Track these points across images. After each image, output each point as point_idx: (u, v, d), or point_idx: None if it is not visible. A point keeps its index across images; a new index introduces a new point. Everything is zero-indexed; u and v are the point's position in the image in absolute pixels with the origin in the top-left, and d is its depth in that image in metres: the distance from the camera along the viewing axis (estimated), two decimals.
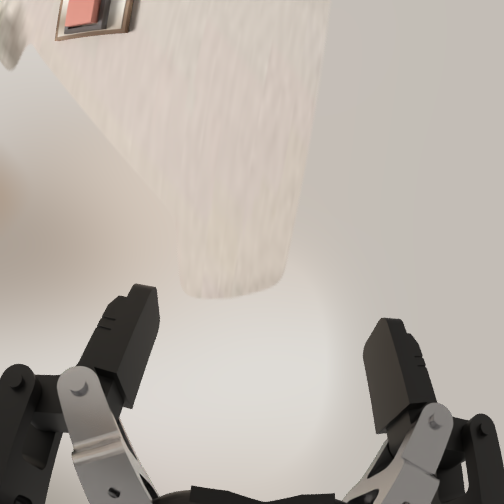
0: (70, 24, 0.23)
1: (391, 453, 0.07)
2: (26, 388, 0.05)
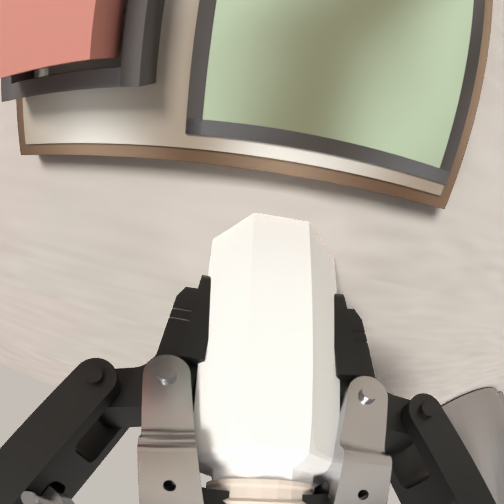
0: None
1: None
2: (107, 383, 0.06)
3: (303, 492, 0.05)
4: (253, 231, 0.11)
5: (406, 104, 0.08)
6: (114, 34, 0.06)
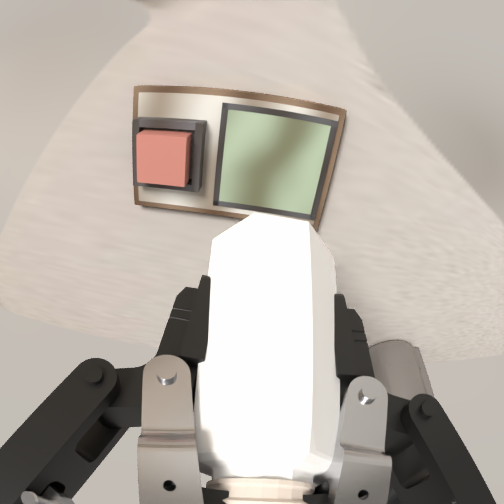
0: (138, 145, 0.21)
1: None
2: (107, 383, 0.06)
3: (303, 492, 0.05)
4: (253, 231, 0.11)
5: (293, 192, 0.25)
6: (188, 173, 0.24)
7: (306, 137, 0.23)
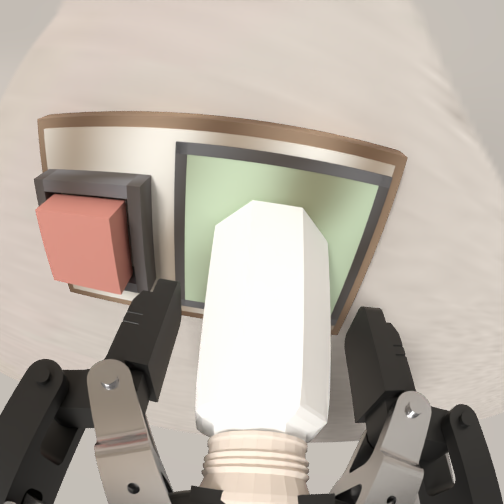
0: (41, 228, 0.11)
1: (371, 444, 0.07)
2: (54, 383, 0.06)
3: (296, 446, 0.06)
4: (251, 216, 0.12)
5: None
6: (128, 266, 0.14)
7: (333, 206, 0.13)
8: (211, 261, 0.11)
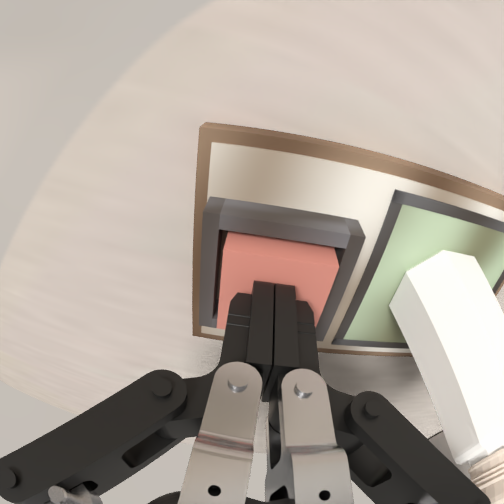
0: (225, 271, 0.11)
1: (279, 431, 0.08)
2: (176, 395, 0.06)
3: None
4: (454, 268, 0.11)
5: None
6: None
7: (491, 254, 0.12)
8: (428, 312, 0.10)
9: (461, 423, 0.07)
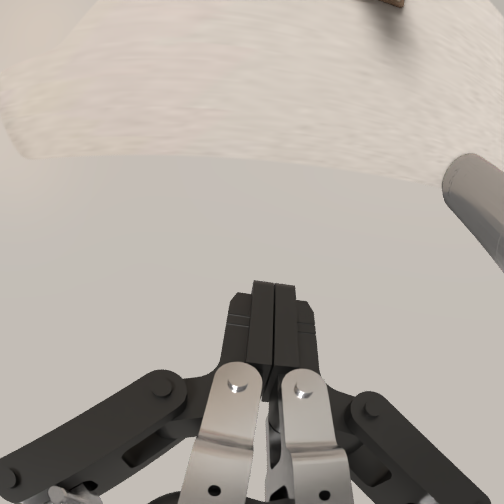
0: None
1: (279, 431, 0.08)
2: (176, 395, 0.06)
3: None
4: None
5: None
6: None
7: None
8: None
9: None
